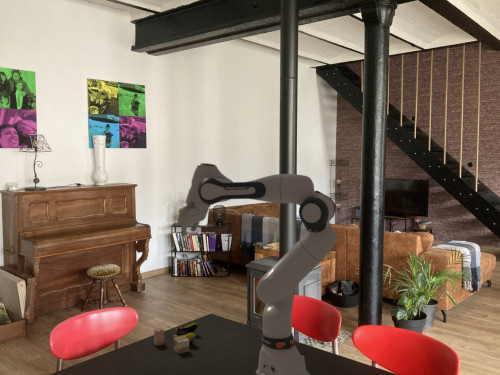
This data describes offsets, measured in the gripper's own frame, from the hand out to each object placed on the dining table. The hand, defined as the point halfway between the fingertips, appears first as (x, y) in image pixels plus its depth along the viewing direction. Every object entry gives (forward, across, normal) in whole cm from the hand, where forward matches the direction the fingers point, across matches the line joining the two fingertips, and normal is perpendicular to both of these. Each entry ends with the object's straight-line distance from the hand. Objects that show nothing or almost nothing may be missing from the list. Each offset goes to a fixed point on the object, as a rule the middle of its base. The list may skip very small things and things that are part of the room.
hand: (188, 232), depth 189 cm
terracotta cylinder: (+54, +5, +1) cm, 55 cm away
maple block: (+50, +2, -11) cm, 52 cm away
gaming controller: (+52, +13, -8) cm, 54 cm away
